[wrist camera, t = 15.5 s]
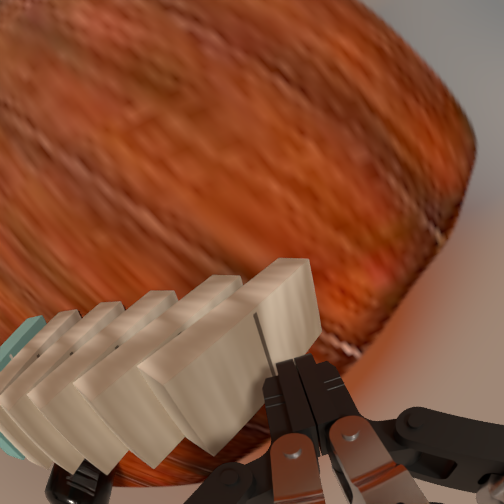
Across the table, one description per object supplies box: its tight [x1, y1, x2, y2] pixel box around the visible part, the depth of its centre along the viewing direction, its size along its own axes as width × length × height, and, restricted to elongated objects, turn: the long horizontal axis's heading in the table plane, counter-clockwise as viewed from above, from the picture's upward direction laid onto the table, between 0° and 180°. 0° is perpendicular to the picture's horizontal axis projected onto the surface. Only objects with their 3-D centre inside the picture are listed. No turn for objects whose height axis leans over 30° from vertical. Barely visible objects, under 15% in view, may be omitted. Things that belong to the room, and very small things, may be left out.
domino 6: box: [137, 258, 322, 456], centre depth 13 cm, size 2×5×10 cm
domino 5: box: [73, 275, 243, 469], centre depth 13 cm, size 2×5×10 cm
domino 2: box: [0, 310, 82, 470], centre depth 12 cm, size 2×5×10 cm, turn 14°
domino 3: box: [0, 301, 125, 475], centre depth 12 cm, size 2×5×10 cm, turn 13°
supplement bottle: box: [45, 459, 117, 504], centre depth 16 cm, size 7×7×12 cm
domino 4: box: [27, 291, 178, 475], centre depth 13 cm, size 2×5×10 cm, turn 14°
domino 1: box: [0, 315, 46, 460], centre depth 12 cm, size 2×5×10 cm, turn 14°
